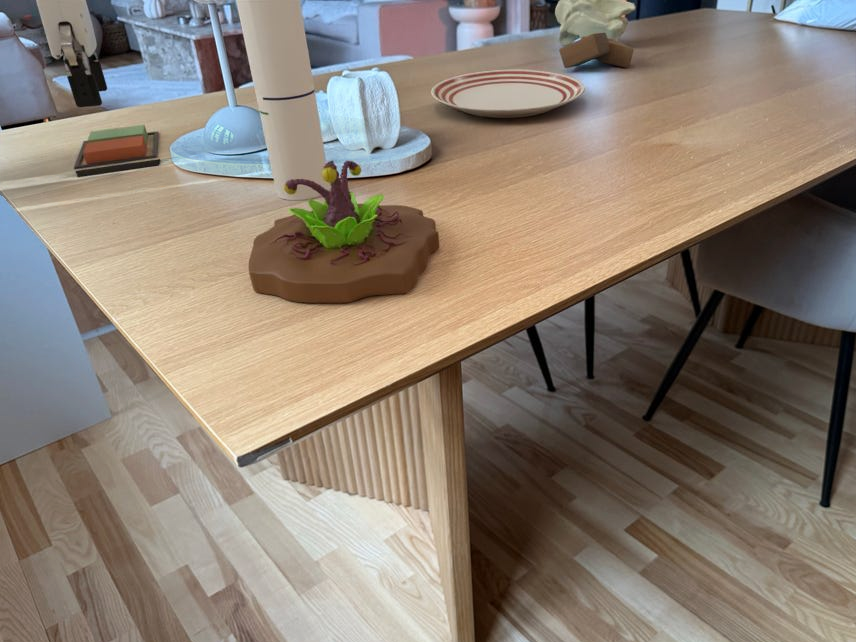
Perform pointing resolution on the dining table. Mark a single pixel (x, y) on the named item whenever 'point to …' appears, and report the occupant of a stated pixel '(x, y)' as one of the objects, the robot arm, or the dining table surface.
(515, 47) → the dining table surface
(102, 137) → the sage pad
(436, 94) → the dinner plate
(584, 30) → the wavy plaster lump
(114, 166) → the frame tray
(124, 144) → the terracotta pad
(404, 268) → the plant
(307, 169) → the cylindrical container
